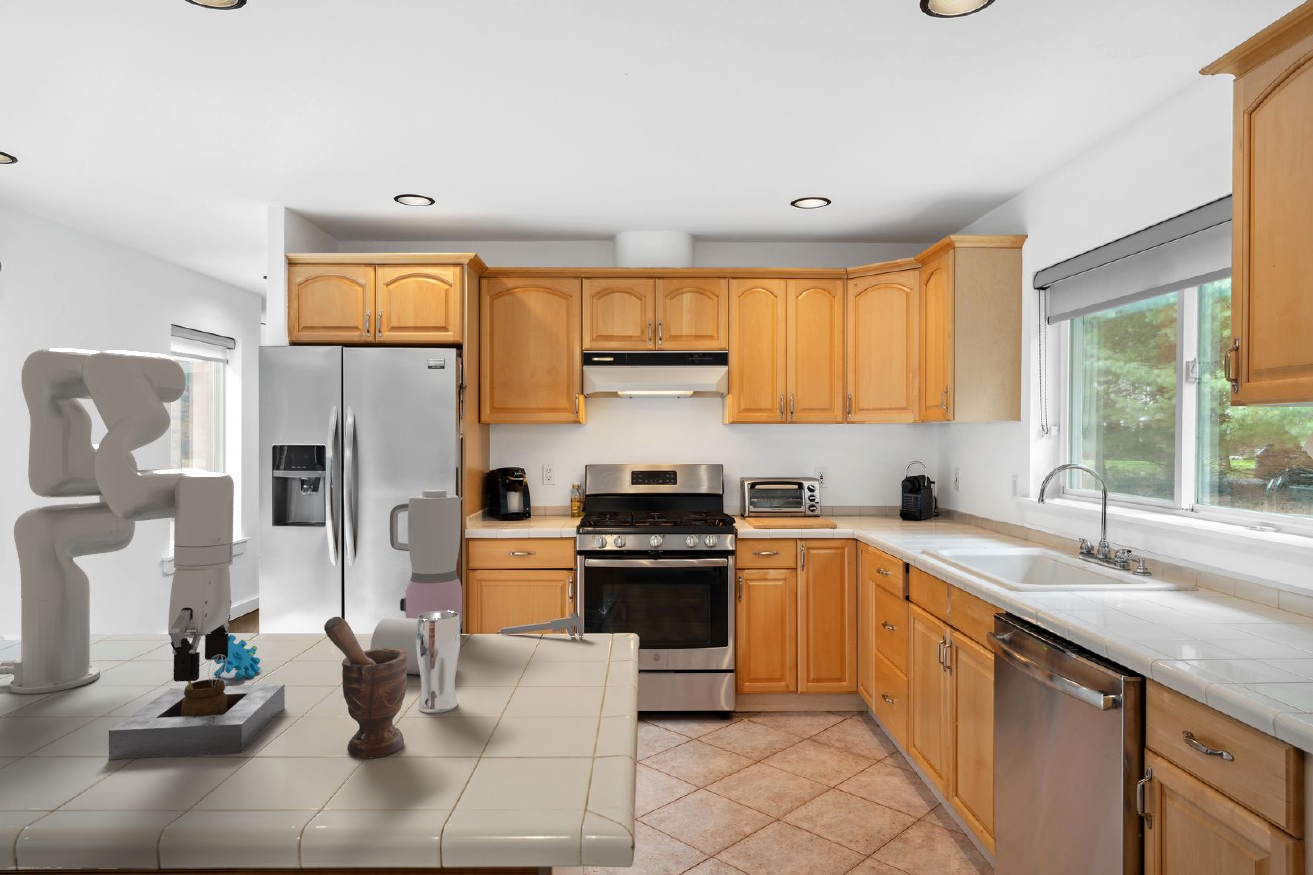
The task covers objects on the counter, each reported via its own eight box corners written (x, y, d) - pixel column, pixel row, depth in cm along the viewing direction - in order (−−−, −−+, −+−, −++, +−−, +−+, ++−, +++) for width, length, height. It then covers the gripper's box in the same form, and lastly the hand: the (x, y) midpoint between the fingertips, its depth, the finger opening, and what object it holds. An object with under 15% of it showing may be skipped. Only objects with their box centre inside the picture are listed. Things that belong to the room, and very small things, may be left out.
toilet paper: (370, 680, 135) (370, 625, 135) (395, 663, 145) (395, 612, 145) (423, 682, 134) (423, 626, 134) (445, 665, 144) (445, 613, 144)
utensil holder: (235, 728, 113) (236, 649, 113) (191, 743, 107) (192, 659, 107) (214, 720, 116) (215, 643, 116) (170, 733, 111) (171, 652, 111)
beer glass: (468, 703, 124) (469, 612, 124) (440, 717, 117) (440, 622, 117) (436, 696, 127) (436, 608, 127) (406, 710, 120) (406, 617, 120)
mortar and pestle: (372, 774, 98) (373, 622, 98) (314, 768, 99) (314, 618, 99) (418, 739, 109) (418, 602, 109) (364, 734, 111) (365, 599, 111)
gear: (237, 677, 131) (204, 634, 133) (212, 701, 131) (180, 658, 133) (276, 667, 142) (245, 627, 144) (254, 688, 142) (223, 649, 144)
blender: (464, 625, 174) (464, 488, 174) (461, 639, 162) (462, 492, 162) (393, 628, 171) (393, 489, 171) (385, 643, 159) (385, 493, 159)
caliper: (583, 640, 163) (583, 611, 163) (581, 641, 162) (581, 612, 162) (497, 633, 168) (497, 605, 168) (495, 635, 167) (495, 607, 167)
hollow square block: (108, 759, 102) (108, 730, 102) (171, 713, 119) (171, 688, 119) (241, 752, 104) (241, 723, 104) (284, 708, 121) (284, 683, 121)
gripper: (203, 546, 119) (201, 652, 120) (145, 566, 102) (143, 690, 103) (253, 546, 121) (251, 651, 121) (204, 566, 103) (202, 689, 104)
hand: (202, 669), depth 112 cm, fingers open, 9 cm apart
